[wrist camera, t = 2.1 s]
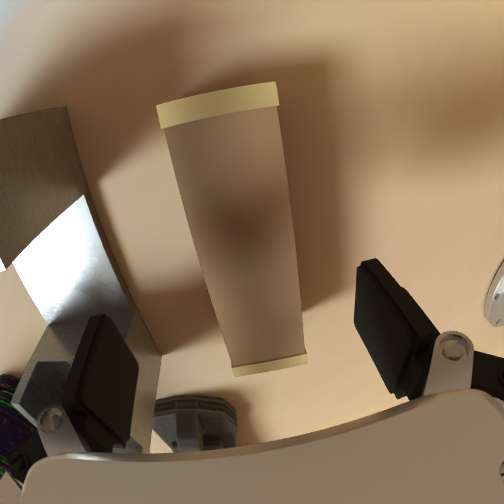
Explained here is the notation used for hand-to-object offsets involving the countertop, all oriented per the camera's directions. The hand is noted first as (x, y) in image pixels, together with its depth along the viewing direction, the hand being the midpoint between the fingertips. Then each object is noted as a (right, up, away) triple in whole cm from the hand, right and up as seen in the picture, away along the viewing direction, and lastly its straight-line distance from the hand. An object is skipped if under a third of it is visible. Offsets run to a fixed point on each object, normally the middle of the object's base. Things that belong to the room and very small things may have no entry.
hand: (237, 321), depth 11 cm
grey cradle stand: (-13, +2, +8) cm, 15 cm away
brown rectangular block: (0, +4, +8) cm, 9 cm away
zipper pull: (-5, -22, +22) cm, 32 cm away
